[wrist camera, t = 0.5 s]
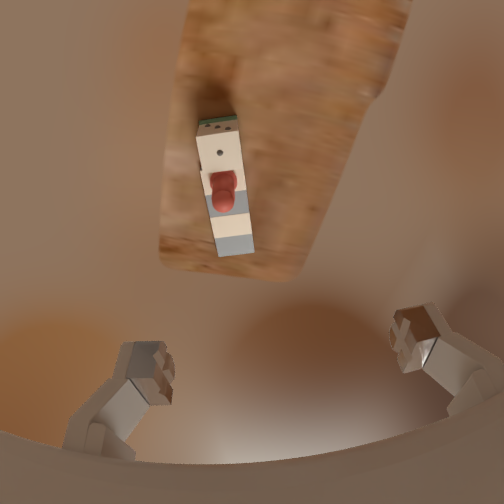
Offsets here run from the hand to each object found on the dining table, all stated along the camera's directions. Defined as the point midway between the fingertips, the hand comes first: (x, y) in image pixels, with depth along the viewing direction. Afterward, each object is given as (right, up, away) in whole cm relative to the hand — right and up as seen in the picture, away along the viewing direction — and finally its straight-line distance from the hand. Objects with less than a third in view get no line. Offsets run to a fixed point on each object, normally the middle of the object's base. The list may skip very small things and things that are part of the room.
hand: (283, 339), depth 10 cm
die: (-5, +18, +29) cm, 35 cm away
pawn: (-5, +13, +33) cm, 35 cm away
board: (-4, +9, +37) cm, 39 cm away
